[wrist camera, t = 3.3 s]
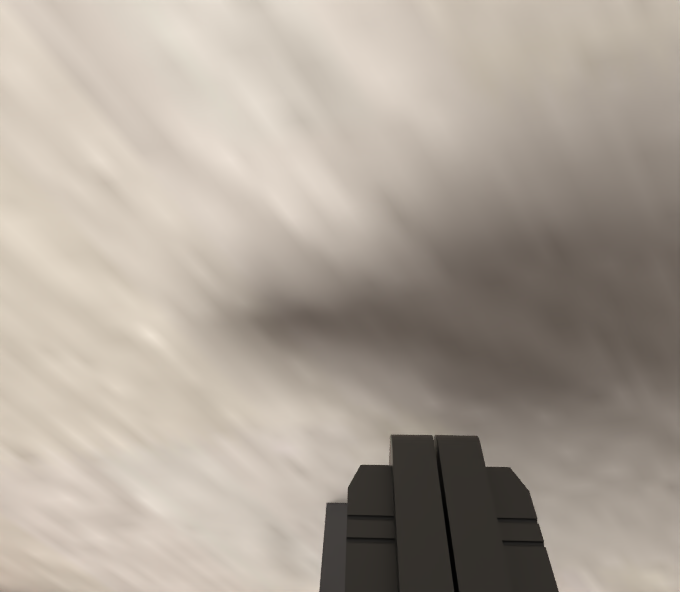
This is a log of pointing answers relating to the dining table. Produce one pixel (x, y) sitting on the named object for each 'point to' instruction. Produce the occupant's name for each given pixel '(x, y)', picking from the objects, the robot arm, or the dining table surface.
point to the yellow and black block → (334, 549)
